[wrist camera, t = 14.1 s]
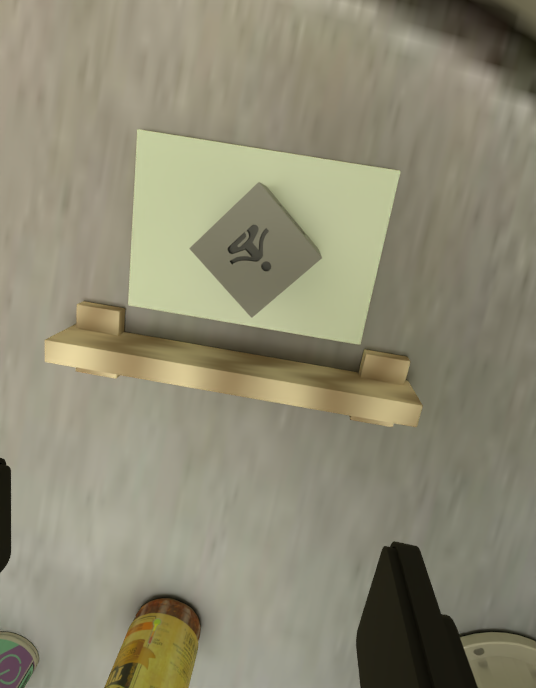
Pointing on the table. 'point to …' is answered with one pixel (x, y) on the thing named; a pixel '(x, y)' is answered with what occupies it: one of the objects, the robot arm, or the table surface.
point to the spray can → (16, 660)
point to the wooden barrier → (236, 370)
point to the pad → (221, 195)
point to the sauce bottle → (158, 647)
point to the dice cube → (256, 250)
